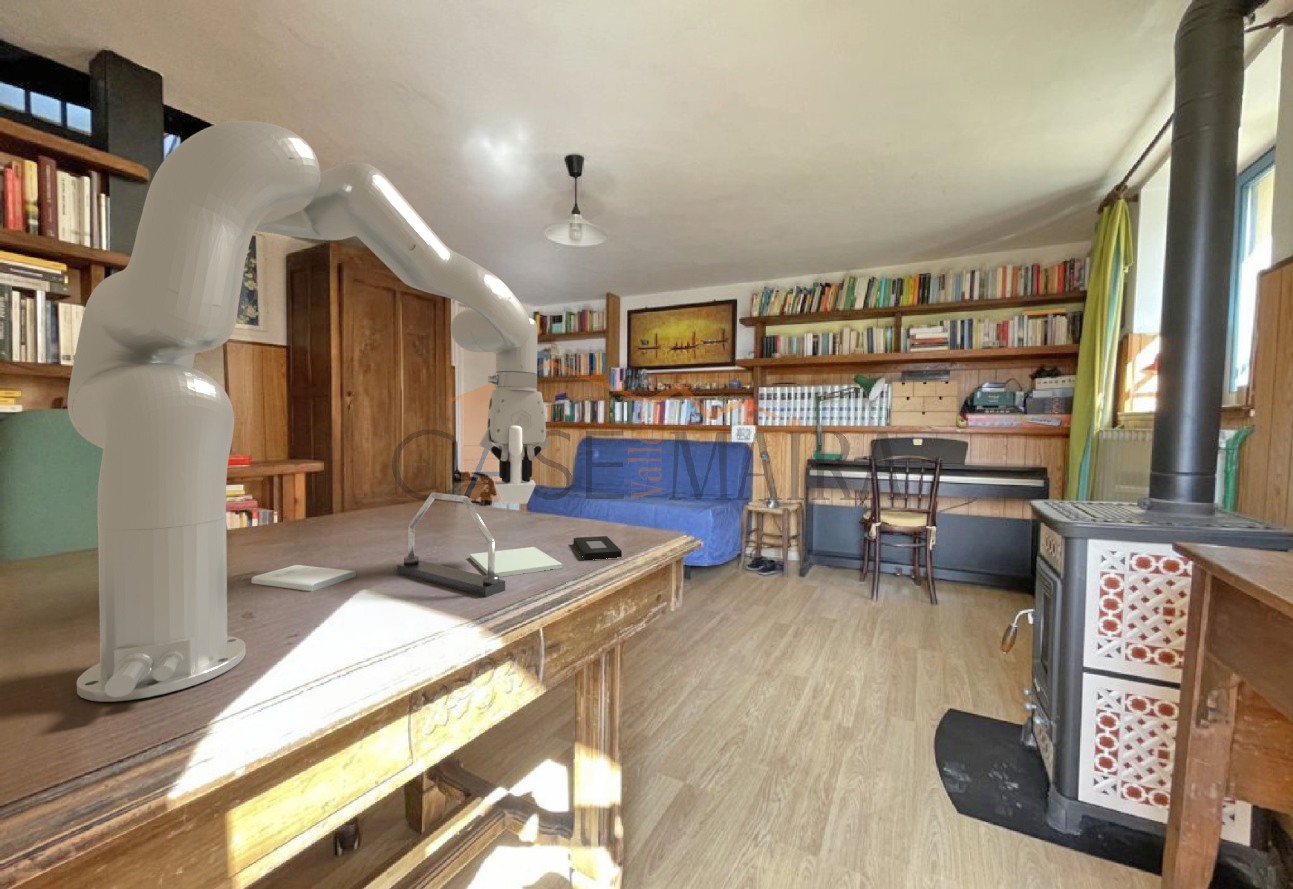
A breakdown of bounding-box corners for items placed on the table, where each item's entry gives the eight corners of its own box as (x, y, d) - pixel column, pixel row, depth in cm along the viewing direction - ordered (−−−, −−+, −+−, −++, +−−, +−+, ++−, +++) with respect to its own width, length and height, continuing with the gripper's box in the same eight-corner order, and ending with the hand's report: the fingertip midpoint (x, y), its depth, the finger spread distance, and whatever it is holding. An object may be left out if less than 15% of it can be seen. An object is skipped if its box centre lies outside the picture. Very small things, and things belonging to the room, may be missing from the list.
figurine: (532, 497, 101) (532, 422, 101) (536, 505, 92) (536, 422, 92) (495, 498, 99) (494, 422, 99) (494, 506, 90) (494, 422, 90)
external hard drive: (311, 594, 78) (251, 586, 82) (355, 579, 86) (298, 572, 89) (311, 584, 78) (251, 576, 81) (355, 570, 86) (298, 563, 89)
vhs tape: (606, 544, 115) (606, 536, 115) (621, 561, 101) (622, 551, 101) (573, 546, 113) (573, 537, 113) (584, 563, 99) (584, 553, 99)
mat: (562, 568, 93) (562, 563, 93) (490, 578, 86) (490, 573, 86) (533, 550, 106) (534, 546, 106) (469, 558, 99) (469, 554, 99)
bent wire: (506, 590, 80) (507, 499, 80) (486, 597, 77) (487, 502, 76) (417, 567, 92) (417, 487, 91) (396, 573, 88) (396, 490, 88)
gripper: (476, 379, 88) (476, 485, 88) (565, 385, 96) (564, 481, 97) (466, 382, 94) (466, 481, 95) (550, 387, 103) (549, 478, 103)
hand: (515, 480), depth 96 cm, fingers closed on figurine, 3 cm apart
